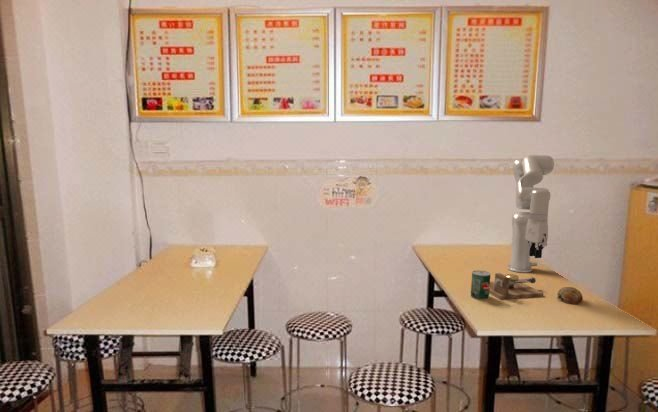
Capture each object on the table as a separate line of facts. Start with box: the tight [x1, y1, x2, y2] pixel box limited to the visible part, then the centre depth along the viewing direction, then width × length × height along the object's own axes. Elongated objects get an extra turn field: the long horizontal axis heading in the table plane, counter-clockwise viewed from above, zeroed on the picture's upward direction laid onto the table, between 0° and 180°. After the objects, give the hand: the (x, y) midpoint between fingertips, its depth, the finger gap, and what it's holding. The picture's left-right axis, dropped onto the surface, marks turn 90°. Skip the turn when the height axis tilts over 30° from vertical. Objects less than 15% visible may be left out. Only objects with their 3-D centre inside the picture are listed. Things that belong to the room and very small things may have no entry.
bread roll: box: [557, 286, 583, 305], centre depth 207 cm, size 10×10×8 cm
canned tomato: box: [470, 270, 491, 301], centre depth 210 cm, size 8×8×11 cm
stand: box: [489, 272, 544, 300], centre depth 219 cm, size 22×20×10 cm
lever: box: [504, 273, 536, 289], centre depth 220 cm, size 16×6×5 cm, turn 104°
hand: (535, 256), depth 215 cm, fingers open, 3 cm apart
